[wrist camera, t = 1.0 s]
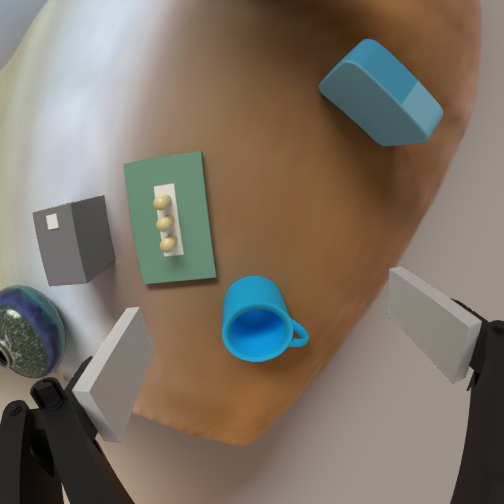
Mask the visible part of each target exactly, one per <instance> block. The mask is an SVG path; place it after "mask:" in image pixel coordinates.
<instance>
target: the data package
mask: <svg viewBox="0 0 504 504" xmlns="http://www.w3.org/2000/svg"><path fill="white" fill-rule="evenodd" d="M318 87H319V90H320V92H321V93H322V94H323V95H324V96H325V97H326V98H328V99H329V100H330V101H331V102H332V103H334V104H335V105H336V106H337V107H338V108H339V109H341V110H342V111H343V112H344V113H345V114H346V115H347V116H348V117H350V118H351V119H352V120H353V121H354V122H355V123H356V124H357V125H358V126H359V127H361V128H362V129H363V130H364V131H365V132H366V133H367V134H368V135H369V136H370V137H371V138H372V139H373V140H374V141H375V142H377V143H378V144H380V145H382V146H396V145H406V144H418V143H426V142H427V141H428V140H429V138H430V136H431V135H432V133H433V132H434V130H435V128H436V127H437V125H438V124H439V122H440V120H441V119H442V117H443V110H442V108H441V106H440V105H439V104H438V103H437V102H436V100H435V99H434V98H433V97H432V96H431V94H430V93H429V92H428V91H427V90H426V89H425V88H424V87H423V85H422V84H421V83H420V82H419V81H418V80H417V79H416V78H415V77H414V76H413V75H412V74H411V73H410V72H409V71H408V70H407V69H406V68H405V67H404V66H403V65H402V64H401V63H400V62H399V61H398V60H397V59H396V58H395V57H394V56H393V55H392V54H391V53H390V52H389V51H388V50H387V49H386V48H384V47H383V46H382V45H381V44H380V43H378V42H377V41H374V40H372V39H364V40H362V41H361V42H360V43H359V44H358V45H357V46H356V47H355V48H354V49H353V50H352V51H350V52H349V53H348V54H347V55H346V56H345V57H344V58H343V59H342V60H341V61H340V62H339V63H338V64H337V65H336V66H335V67H334V68H333V69H332V70H331V71H330V72H329V74H328V75H327V76H326V77H325V78H324V79H323V80H322V82H321V83H320V84H319V86H318Z"/></svg>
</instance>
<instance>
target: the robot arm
mask: <svg viewBox="0 0 504 504" xmlns="http://www.w3.org/2000/svg"><path fill="white" fill-rule="evenodd" d="M387 314H388V315H389V317H390V318H391V319H392V320H393V321H394V322H395V323H396V324H397V325H398V326H399V327H400V328H401V329H402V330H403V331H404V332H405V333H406V334H407V335H408V336H409V337H410V338H411V339H412V340H413V341H414V342H415V343H416V345H417V346H419V348H420V349H421V350H422V351H423V352H424V353H425V354H426V355H427V356H428V357H429V358H430V359H431V360H432V362H433V363H434V364H435V365H436V366H437V367H438V368H439V369H440V370H441V371H442V373H443V374H444V375H445V376H446V377H447V378H448V379H449V380H450V381H451V383H455V382H457V381H459V380H461V379H463V378H465V377H466V374H467V371H468V369H469V366H470V367H471V368H472V369H473V370H474V372H473V375H472V378H471V380H470V383H469V386H468V388H467V391H469V389H470V387H471V398H470V408H469V418H468V425H467V432H466V439H465V445H464V450H463V455H462V460H461V465H460V469H459V474H458V478H457V482H456V485H455V489H454V492H453V496H452V499H451V503H450V504H504V321H500V320H496V321H492V322H490V323H489V322H488V321H487V320H485V319H484V318H483V317H481V316H480V315H478V314H477V313H476V312H474V311H472V310H471V309H470V308H468V307H467V306H465V305H464V304H463V303H461V302H460V301H457V300H454V299H451V298H448V297H447V296H445V295H444V294H442V293H441V292H439V291H438V290H436V289H435V288H433V287H432V286H430V285H429V284H427V283H426V282H424V281H423V280H421V279H420V278H418V277H417V276H415V275H414V274H412V273H411V272H409V271H407V270H406V269H404V268H403V267H395V268H390V269H389V291H388V308H387ZM153 353H154V348H153V345H152V343H151V340H150V337H149V334H148V331H147V328H146V324H145V321H144V318H143V315H142V312H141V308H140V307H133V308H127V309H126V310H125V312H124V313H123V314H122V316H121V317H120V319H119V320H118V321H117V323H116V324H115V326H114V327H113V329H112V330H111V332H110V333H109V334H108V336H107V337H106V339H105V340H104V342H103V343H102V345H101V346H100V348H99V349H98V351H97V352H96V354H95V355H94V357H89V358H88V359H87V360H85V361H84V362H83V363H82V364H81V366H80V367H79V369H78V371H77V372H76V373H75V375H74V377H73V378H72V379H71V381H70V382H69V384H68V385H67V387H66V389H65V390H63V389H62V387H61V385H60V383H59V382H58V380H57V379H56V378H53V377H47V378H44V379H41V380H39V381H37V382H36V383H35V384H34V385H33V386H32V388H31V390H30V394H31V396H32V397H33V399H34V401H35V402H36V404H37V405H38V407H39V408H37V409H29V407H28V406H27V404H26V403H25V402H24V401H22V400H16V401H12V402H11V403H9V404H8V405H7V406H6V408H5V409H4V411H3V415H2V420H1V423H0V504H64V501H63V493H62V484H63V487H64V490H65V492H66V495H67V497H68V500H69V502H70V504H135V503H134V502H133V500H132V499H131V497H130V496H129V494H128V493H127V491H126V490H125V488H124V487H123V485H122V484H121V482H120V481H119V479H118V477H117V476H116V474H115V472H114V470H113V469H112V467H111V465H110V464H109V462H108V460H107V459H106V456H105V455H104V453H103V451H102V449H101V447H100V445H99V443H98V442H97V441H96V440H95V437H96V435H97V432H98V433H99V434H100V435H101V437H102V438H103V440H104V441H110V442H119V443H121V441H122V438H123V434H124V432H125V428H126V426H127V423H128V420H129V417H130V415H131V412H132V409H133V406H134V403H135V401H136V398H137V395H138V392H139V390H140V387H141V384H142V382H143V379H144V377H145V374H146V371H147V369H148V366H149V364H150V361H151V358H152V356H153ZM61 482H62V483H61Z"/></svg>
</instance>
